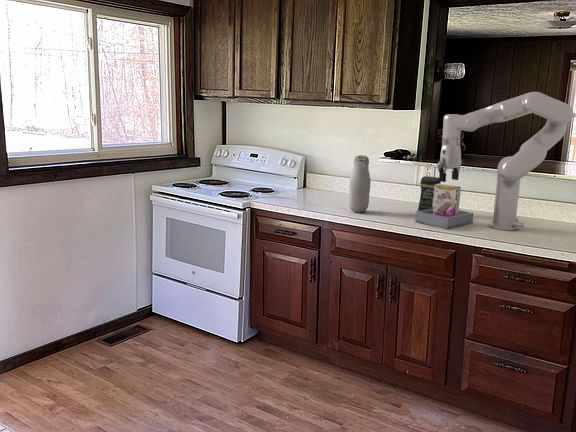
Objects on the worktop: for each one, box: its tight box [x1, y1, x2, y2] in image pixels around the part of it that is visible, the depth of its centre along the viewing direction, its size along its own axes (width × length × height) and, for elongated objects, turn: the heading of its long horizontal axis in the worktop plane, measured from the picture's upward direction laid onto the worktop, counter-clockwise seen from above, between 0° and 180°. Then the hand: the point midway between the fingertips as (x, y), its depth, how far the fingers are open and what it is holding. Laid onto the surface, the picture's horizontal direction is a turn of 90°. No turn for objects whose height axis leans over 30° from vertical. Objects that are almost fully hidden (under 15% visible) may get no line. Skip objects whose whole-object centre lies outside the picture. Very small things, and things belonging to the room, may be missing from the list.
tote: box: [414, 209, 474, 230], centre depth 253 cm, size 17×20×5 cm
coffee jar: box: [417, 175, 442, 211], centre depth 270 cm, size 10×8×19 cm
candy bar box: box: [432, 183, 462, 218], centre depth 251 cm, size 11×5×16 cm, turn 54°
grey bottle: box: [348, 154, 372, 213], centre depth 270 cm, size 10×10×28 cm
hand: (448, 180), depth 249 cm, fingers open, 9 cm apart
